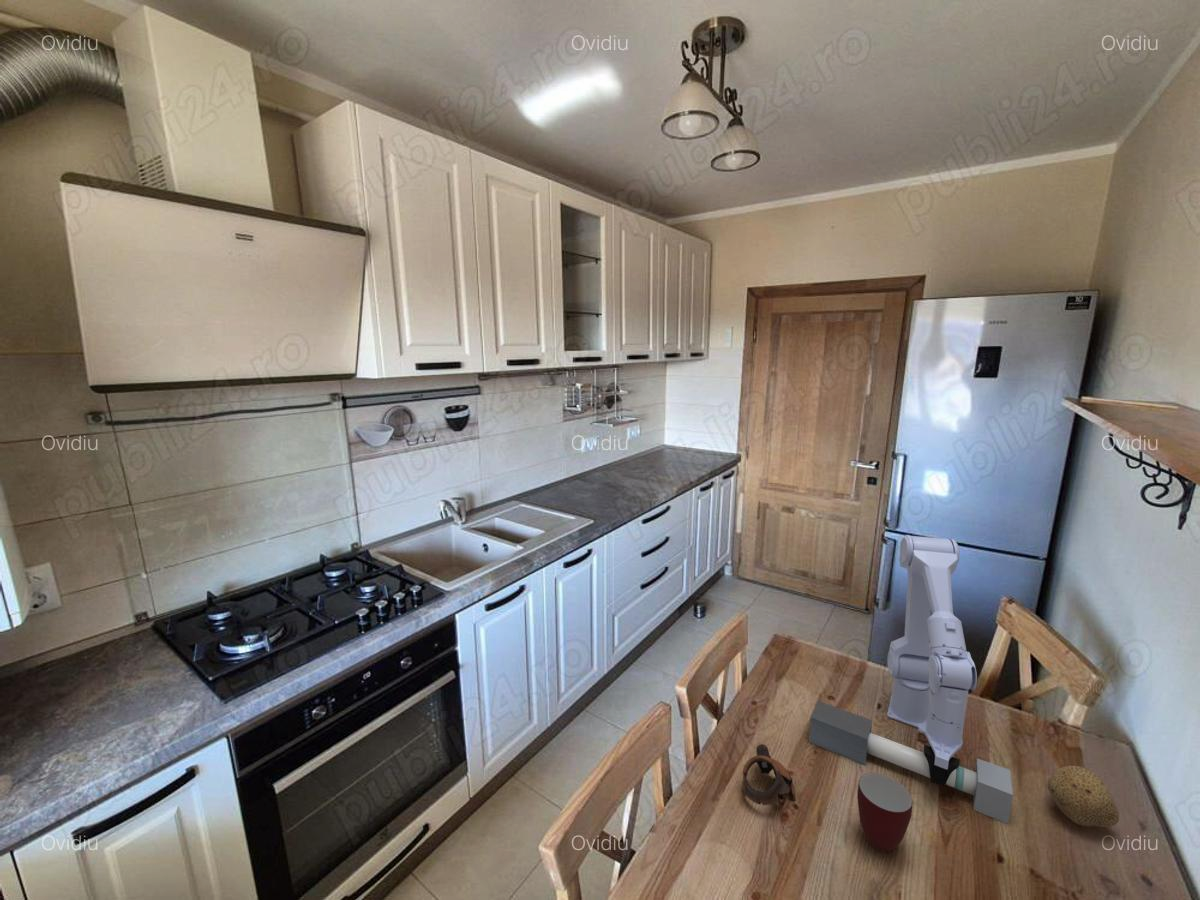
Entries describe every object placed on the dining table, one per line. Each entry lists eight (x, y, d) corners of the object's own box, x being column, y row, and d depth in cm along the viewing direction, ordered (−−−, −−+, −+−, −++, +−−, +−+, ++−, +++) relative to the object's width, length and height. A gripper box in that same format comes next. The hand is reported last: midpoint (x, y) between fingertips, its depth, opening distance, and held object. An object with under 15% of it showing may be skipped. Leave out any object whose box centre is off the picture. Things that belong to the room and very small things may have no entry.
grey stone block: (808, 742, 109) (810, 717, 108) (815, 724, 114) (817, 700, 113) (865, 765, 103) (867, 739, 102) (869, 745, 108) (872, 720, 107)
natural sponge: (1032, 792, 96) (1040, 747, 94) (1088, 802, 94) (1097, 756, 92) (1061, 835, 87) (1070, 786, 85) (1124, 848, 85) (1135, 798, 83)
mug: (842, 805, 93) (846, 759, 92) (888, 810, 92) (893, 763, 91) (863, 860, 83) (869, 809, 81) (915, 867, 82) (922, 815, 80)
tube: (845, 749, 106) (846, 732, 105) (848, 737, 109) (850, 720, 108) (980, 803, 93) (983, 784, 92) (980, 788, 96) (982, 769, 95)
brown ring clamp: (807, 816, 92) (792, 791, 89) (758, 829, 94) (742, 806, 91) (785, 752, 103) (772, 729, 100) (742, 765, 105) (727, 743, 102)
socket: (973, 809, 92) (977, 781, 91) (973, 785, 98) (976, 758, 96) (1008, 824, 89) (1013, 795, 88) (1005, 798, 95) (1010, 770, 94)
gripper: (923, 686, 104) (916, 743, 106) (918, 727, 92) (911, 791, 94) (965, 699, 100) (957, 758, 102) (965, 744, 88) (956, 810, 90)
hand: (938, 775), depth 98 cm, fingers closed on tube, 4 cm apart
